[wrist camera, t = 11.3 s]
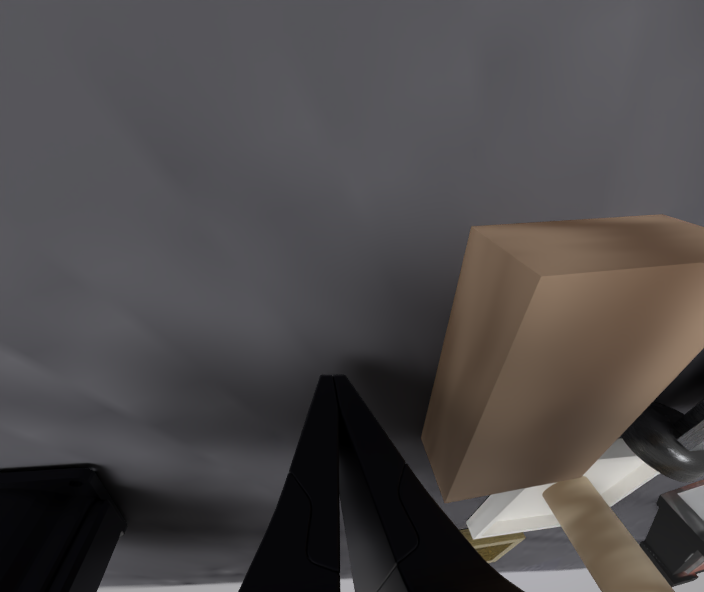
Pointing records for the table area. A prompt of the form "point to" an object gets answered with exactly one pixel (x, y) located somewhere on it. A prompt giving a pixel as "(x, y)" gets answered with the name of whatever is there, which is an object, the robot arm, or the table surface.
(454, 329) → the bar
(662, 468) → the trolley
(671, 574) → the book
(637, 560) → the pin
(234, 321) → the table surface
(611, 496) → the tray
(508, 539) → the pin socket
